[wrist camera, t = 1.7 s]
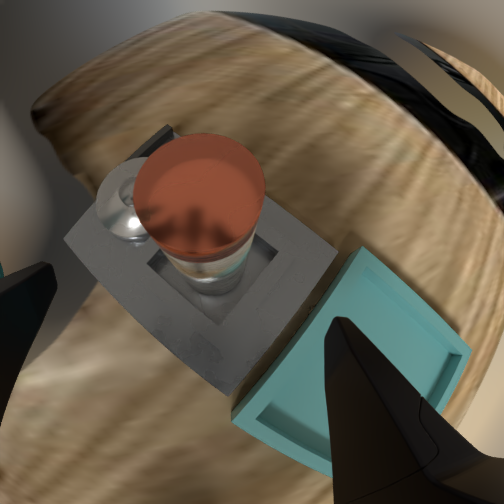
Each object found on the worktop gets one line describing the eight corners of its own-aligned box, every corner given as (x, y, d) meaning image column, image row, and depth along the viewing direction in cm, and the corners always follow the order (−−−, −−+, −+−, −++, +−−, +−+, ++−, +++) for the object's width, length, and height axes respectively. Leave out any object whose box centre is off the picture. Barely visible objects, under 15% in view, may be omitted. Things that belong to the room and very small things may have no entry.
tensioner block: (228, 393, 16) (228, 404, 14) (69, 243, 18) (51, 230, 15) (333, 255, 19) (349, 243, 17) (172, 137, 21) (167, 115, 18)
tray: (369, 486, 14) (380, 496, 12) (230, 412, 16) (231, 421, 14) (457, 350, 18) (472, 350, 16) (350, 253, 20) (362, 245, 18)
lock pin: (217, 308, 17) (203, 280, 7) (169, 267, 17) (108, 196, 8) (257, 259, 18) (291, 179, 8) (209, 222, 18) (196, 116, 9)
